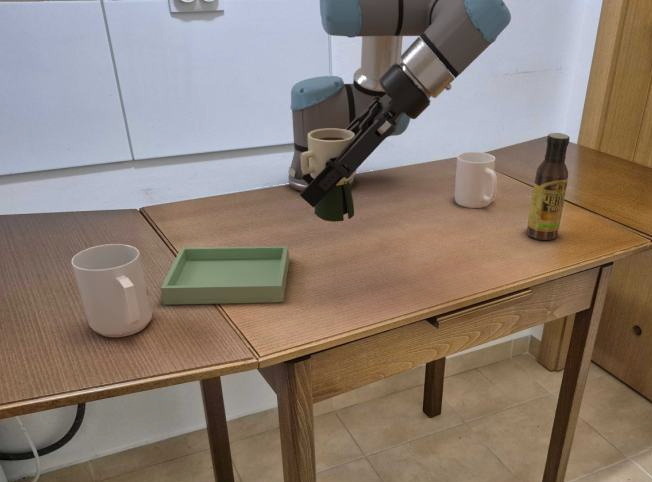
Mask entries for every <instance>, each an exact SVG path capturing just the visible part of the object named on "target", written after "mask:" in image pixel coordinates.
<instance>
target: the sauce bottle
mask: <svg viewBox="0 0 652 482" xmlns="http://www.w3.org/2000/svg"><path fill="white" fill-rule="evenodd" d="M570 138H571V136H570V135H568V134H565V133H562V132H551V133H548V134H547V139H546V150H545V155H544V159H543V161H542V162H541V163H540V165H539V166H538V167H537V168H536V173H535V179H534V181H533V188H532V195H531V201H530V208H529V215H528V219H527V229H526V233H527V235H528V236H529V237H531V238H533V239H536V240H540V241H550V240H553V239H556V238H557V237H558V231H559V229H560V225H561V219H562V213H563V209H564V203H565V197H566V193H567V188H568V181H569V179H568V178H569V170H568V167H567V165H566V163H565V162H566V154H567V149H568V145H569V144H570Z"/></svg>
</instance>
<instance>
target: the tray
mask: <svg viewBox="0 0 652 482" xmlns="http://www.w3.org/2000/svg"><path fill="white" fill-rule="evenodd" d="M289 266H290V250H289V245H266V246H265V245H262V246H261V245H259V246H257V245H256V246H255V245H253V246H191V247H189V246H186V247H185V246H184V247H180V249H179V252H178V253H177V255H176V256H175V258H174V261H173V263H172V265H171V266H170V269H169V271H168V273H167V275H166V276H165V279H164V280H163V282H162V284H161V286H160V293H161V297H162V300H163V301H162V302H163V305H165V306H169V305H171V306H172V305H215V304H217V305H218V304H220V305H221V304H259V303H260V304H263V303H266V304H267V303H283V302H284V298H285V291H286V286H287V279H288V272H289Z"/></svg>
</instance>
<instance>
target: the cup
mask: <svg viewBox="0 0 652 482" xmlns="http://www.w3.org/2000/svg"><path fill="white" fill-rule="evenodd" d="M495 167H496V156H494V155H492V154H491V153H486V152H481V151H466V152H462V153H459V154H458V155H457V156H456V167H455V168H456V169H455V185H454V202H455V203H456V204H457V205H458V206H460V207H463V208H468V209H481V208H486V207H488V206H489V205H490V204H491V203H492V202H494V201H495V199H496V197H497V194H498V193H497V191H498V177H497V174H496V172H495Z"/></svg>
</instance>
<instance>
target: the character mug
mask: <svg viewBox="0 0 652 482" xmlns="http://www.w3.org/2000/svg"><path fill="white" fill-rule="evenodd" d="M354 137H355V135H354V133H353V132H352V131H349V130H345V129H338V128H324V129H317V130H314V131H311V132H309V133H308V151H307V152H303V153H301V156H300V158H301V170H302V173H303V174H310V175H311V177H313V178H314V179H315V178H316V177H317V176H318V175H319V174H320V172H321V171H322V170H323V169H324V168H325V167H326V166H327V165H328V163H327V161H328V160H329V159H330V160H332V161H335V160H336V158H337V157H338V156H339V155H340V154H341V152H342V151H343V150H344V149H345V148H346V146H347V145H348V144H349V143H350V142H351V140H352V139H353V138H354ZM307 158H309V167H308V164H307ZM344 165H345V164H344ZM345 166H346V165H345ZM346 167H347V166H346ZM356 174H357V169H356V170H355V171H354V172H353V174H352V175H351V176H350V177H349V178H348V179H346V178H345V177H344V178H342V179H341V180H340V181H339V182H338V183H337V184H336V185H335V186H334V187H333V188H332V189H331V190H330V191H329V192H328V193H327V194H326V195H325V197H324V198H323V199H322V200H321V201H320V202H319V203H318V204H317V205H316V206H315V207H314V215H315V216H316V217H318V219H321V220H323V221H325V222H334V223H335V222H344V220H345V218H344V217H345V215H347V218H348V220H350V219H352V218H353V217H354V216H355V205H354V198H353V192H352V186H350V183H349V181H348V180H350V179H352V178H353V179H354V176H355V175H356Z"/></svg>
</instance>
